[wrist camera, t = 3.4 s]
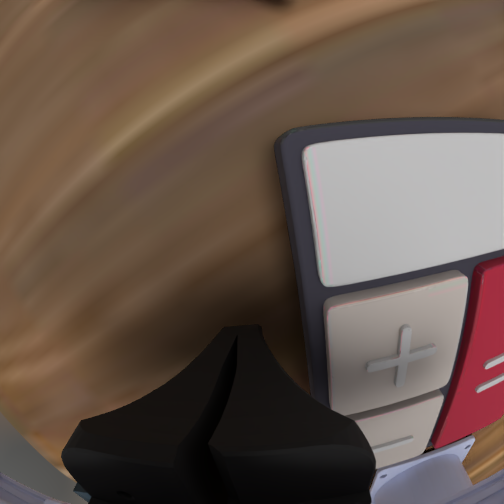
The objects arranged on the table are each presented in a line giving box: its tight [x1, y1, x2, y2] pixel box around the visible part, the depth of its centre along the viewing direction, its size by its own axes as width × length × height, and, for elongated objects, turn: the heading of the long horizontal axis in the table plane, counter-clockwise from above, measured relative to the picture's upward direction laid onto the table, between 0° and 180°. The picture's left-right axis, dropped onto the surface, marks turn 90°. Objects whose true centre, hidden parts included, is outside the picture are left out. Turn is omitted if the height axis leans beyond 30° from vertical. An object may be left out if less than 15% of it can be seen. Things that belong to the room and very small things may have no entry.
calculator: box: [274, 117, 504, 469], centre depth 10 cm, size 11×4×15 cm
